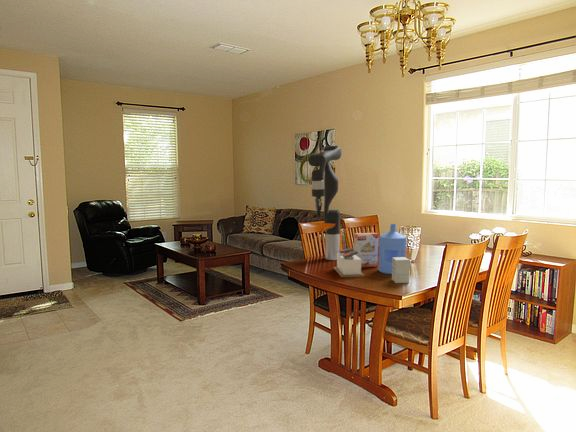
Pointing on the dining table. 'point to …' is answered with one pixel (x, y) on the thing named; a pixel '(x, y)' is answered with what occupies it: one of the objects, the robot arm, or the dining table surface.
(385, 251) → the water jug
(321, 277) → the dining table surface
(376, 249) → the cracker box
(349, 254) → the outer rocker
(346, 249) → the block
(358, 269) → the switch panel
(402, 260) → the supplement box
